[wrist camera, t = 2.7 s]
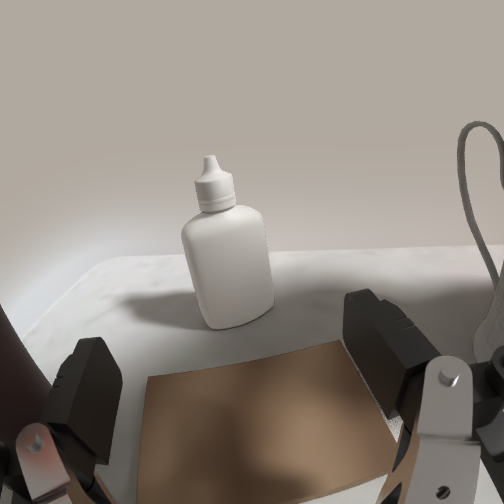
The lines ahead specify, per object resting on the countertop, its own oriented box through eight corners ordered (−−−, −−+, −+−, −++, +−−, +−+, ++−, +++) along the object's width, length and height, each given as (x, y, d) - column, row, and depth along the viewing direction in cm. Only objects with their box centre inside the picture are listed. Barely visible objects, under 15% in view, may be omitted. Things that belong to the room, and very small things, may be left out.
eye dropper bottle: (209, 299, 25) (177, 158, 20) (274, 293, 25) (255, 145, 19) (199, 332, 21) (155, 170, 16) (275, 327, 21) (252, 153, 16)
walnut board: (338, 350, 18) (339, 339, 17) (399, 468, 9) (405, 460, 9) (153, 386, 17) (148, 376, 16) (146, 516, 9) (136, 511, 8)
